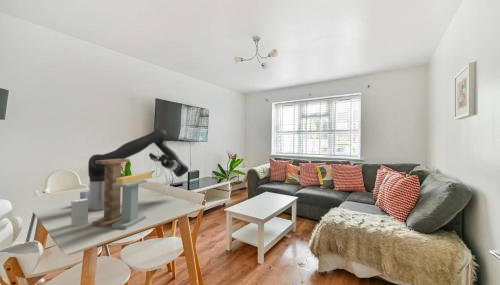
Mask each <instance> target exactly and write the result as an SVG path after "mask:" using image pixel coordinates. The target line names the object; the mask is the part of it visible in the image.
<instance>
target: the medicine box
mask: <svg viewBox="0 0 500 285" xmlns="http://www.w3.org/2000/svg"><path fill="white" fill-rule="evenodd" d="M89 190H90V189H89ZM89 190H85V191H80V192H79V199H87V200H88V193H89Z"/></svg>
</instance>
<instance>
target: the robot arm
mask: <svg viewBox="0 0 500 285" xmlns="http://www.w3.org/2000/svg"><path fill="white" fill-rule="evenodd" d="M167 135H168V134H167V132H166V130H164V129H163V128H159V129H156V130H154V131H152V132H150V133H147V134H146V135H143V136H140V137H138V138H136V139H133V140H131V141H128V142H126V143H124V144H122V145H121V146H119V147H118V148H117V149H115V150H113V151H109V152H106V153H104V154H93V155H91V156H90V158H89V160H88V163H87V164H88V168H87V169H88V171H87V172H88V177H89V193H88V211H93V212H94V211H101V210H104V187H105V164H95V161H98V160H109V159H129V158H130V157H132V156H134V155H137V154H139V153H140V152H142V151H144V150H145V149H147V148H148V147H149V146H151V145H152V144H154V145H156V146H157V148H158V149H159V150H160V151H161V152H162V153H163V154H162V153H161V156H160V155H156V154H154V153H152V152H150V153H149V155H148V157H150V158H149V159H150V160H152V161H153V162H159V163H161V164H160V165H161V166H162V167H163V168H165V169H167V170H169V171H171V172H173V174H174V175H175V176H176V177H178V178H180V177H182V176H184V175H185V174H186V173H188V172H189V167H188V166H187V164H185V163H184V162H183V161H182V160H181V159H180V157H178V154H177V153H176V152H175V151H174V150H173V149H171V148H170V147H169V146H168V145H167V143H166V142H165V140H166V138H167Z"/></svg>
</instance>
